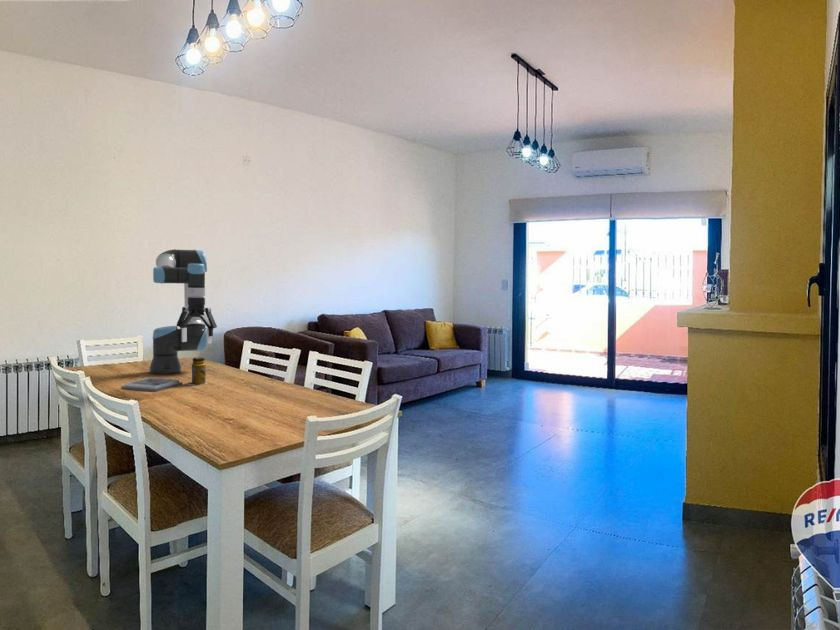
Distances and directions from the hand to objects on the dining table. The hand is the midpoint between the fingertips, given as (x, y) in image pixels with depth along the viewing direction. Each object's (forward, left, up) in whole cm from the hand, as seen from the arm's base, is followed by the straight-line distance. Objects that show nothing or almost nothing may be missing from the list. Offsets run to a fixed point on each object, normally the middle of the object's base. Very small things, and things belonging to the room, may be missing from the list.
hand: (196, 342), depth 283 cm
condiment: (0, 0, -20) cm, 20 cm away
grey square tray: (+14, -13, -19) cm, 27 cm away
